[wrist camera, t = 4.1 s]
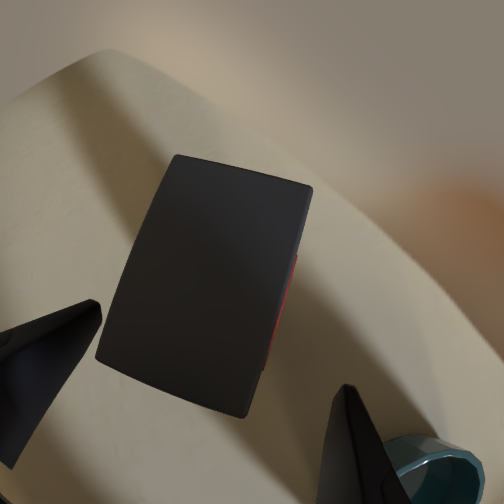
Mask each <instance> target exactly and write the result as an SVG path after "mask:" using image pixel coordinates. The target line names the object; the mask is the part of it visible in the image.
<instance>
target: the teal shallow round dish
mask: <svg viewBox="0 0 504 504" xmlns="http://www.w3.org/2000/svg"><path fill="white" fill-rule="evenodd" d="M383 445H384V447H385V449H386V452H387V454H388V456H389V458H390V460H391V463H392V466H393V467H394V469H395V471H396V473H397V476H398V478H399V480H400V482H401V484H402V486H403V488H404V490H405V491H406V493H407V495H408V497H409V498H410V500H411V502H412V503H413V504H479V503H480V501H481V498H482V495H483V489H484V484H485V475H484V471H483V467H482V463H481V461H480V460H479V459H478V458H476V457H475V456H474V455H473V454H472V453H471V452H470V451H467V450H465V449H463V448H460V447H458V446H455V445H453V444H451V443H448V442H446V441H443V440H441V439H438V438H434V437H431V436H427V435H418V434H416V435H407V436H402V437H398V438H395V439H392V440H390V441H387V442H385V443H383Z"/></svg>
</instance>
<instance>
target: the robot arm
mask: <svg viewBox="0 0 504 504" xmlns="http://www.w3.org/2000/svg"><path fill="white" fill-rule="evenodd" d="M101 324H102V312H101V306H100V303H99V302H97V301H95V300H92V299H88V300H86V301H83V302H80V303H78V304H75V305H72V306H70V307H67V308H64V309H62V310H59V311H56V312H54V313H51V314H48V315H46V316H43V317H40V318H38V319H35V320H33V321H30V322H27V323H25V324H22V325H19V326H17V327H14V329H13V328H11V329H9V330H6V331H3V332H1V333H0V461H1V462H2V463H3V464H5V465H6V466H7V467H8V468H10V469H11V470H12V468H13V467H14V465H15V463H16V461H17V460H18V458H19V456H20V454H21V453H22V451H23V449H24V448H25V446H26V444H27V442H28V441H29V439H30V437H31V436H32V434H33V432H34V430H35V429H36V427H37V426H38V424H39V422H40V421H41V419H42V417H43V416H44V414H45V413H46V411H47V410H48V408H49V406H50V405H51V403H52V402H53V400H54V399H55V397H56V396H57V394H58V393H59V391H60V390H61V388H62V387H63V385H64V384H65V382H66V381H67V379H68V378H69V376H70V375H71V373H72V372H73V370H74V369H75V367H76V366H77V364H78V363H79V362H80V360H81V359H82V357H83V356H84V354H85V352H86V351H87V349H88V347H89V345H90V343H91V342H92V340H93V338H94V336H95V335H96V333H97V331H98V329H99V327H100V326H101ZM0 504H12V503H11V502H10V501H9V500H7V499H6V498H5V497H4V496H3V495H2V494H1V493H0ZM316 504H413V503H412V502H411V500H410V498H409V497H408V495H407V493H406V491H405V490H404V488H403V486H402V484H401V482H400V480H399V478H398V476H397V473H396V471H395V469H394V467H393V466H392V463H391V460H390V458H389V456H388V454H387V452H386V449H385V447H384V445H383V443H382V441H381V439H380V437H379V434H378V432H377V430H376V428H375V426H374V424H373V422H372V420H371V417H370V415H369V413H368V411H367V409H366V407H365V405H364V403H363V401H362V399H361V397H360V395H359V392H358V390H357V388H356V387H355V386H354V385H349V384H343V385H342V386H341V388H340V389H339V391H338V392H337V394H336V395H335V397H334V399H333V402H332V407H331V412H330V416H329V421H328V426H327V430H326V434H325V439H324V446H323V455H322V464H321V472H320V479H319V486H318V493H317V500H316Z"/></svg>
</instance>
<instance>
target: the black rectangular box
mask: <svg viewBox="0 0 504 504" xmlns="http://www.w3.org/2000/svg"><path fill="white" fill-rule="evenodd" d="M312 194H313V188H312V187H311V186H309V185H305V184H302V183H298V182H294V181H291V180H287V179H283V178H279V177H276V176H272V175H268V174H264V173H260V172H256V171H252V170H248V169H243V168H239V167H235V166H230V165H226V164H222V163H217V162H212V161H208V160H203V159H198V158H193V157H189V156H184V155H178V154H177V155H174V157H173V159H172V161H171V163H170V165H169V167H168V169H167V171H166V173H165V175H164V177H163V179H162V181H161V183H160V185H159V188H158V190H157V192H156V194H155V196H154V198H153V201H152V203H151V205H150V207H149V209H148V212H147V214H146V216H145V219H144V221H143V223H142V226H141V228H140V230H139V233H138V235H137V237H136V240H135V242H134V245H133V247H132V250H131V252H130V255H129V257H128V260H127V263H126V265H125V268H124V270H123V273H122V276H121V278H120V281H119V284H118V287H117V289H116V292H115V295H114V298H113V301H112V304H111V307H110V310H109V313H108V316H107V319H106V322H105V325H104V328H103V331H102V334H101V338H100V341H99V344H98V348H97V351H96V354H95V359H96V360H97V361H99V362H101V363H102V364H104V365H106V366H108V367H110V368H112V369H114V370H117V371H119V372H121V373H123V374H125V375H127V376H129V377H131V378H133V379H136V380H138V381H140V382H142V383H145V384H147V385H149V386H151V387H154V388H156V389H159V390H161V391H163V392H166V393H168V394H171V395H173V396H176V397H178V398H181V399H184V400H186V401H189V402H192V403H194V404H197V405H200V406H203V407H206V408H208V409H211V410H214V411H217V412H220V413H223V414H227V415H230V416H233V417H236V418H239V419H244V418H245V417H246V416H247V414H248V411H249V408H250V405H251V402H252V399H253V396H254V393H255V390H256V387H257V384H258V381H259V378H260V375H261V372H262V371H263V370H264V367H265V364H266V361H267V358H268V355H269V351H270V348H271V345H272V342H273V339H274V335H275V332H276V329H277V325H278V322H279V319H280V315H281V312H282V309H283V305H284V302H285V299H286V295H287V292H288V288H289V285H290V281H291V278H292V274H293V271H294V267H295V263H296V260H297V255H296V254H297V251H298V247H299V244H300V240H301V236H302V232H303V229H304V225H305V221H306V217H307V213H308V210H309V206H310V202H311V198H312Z"/></svg>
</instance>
